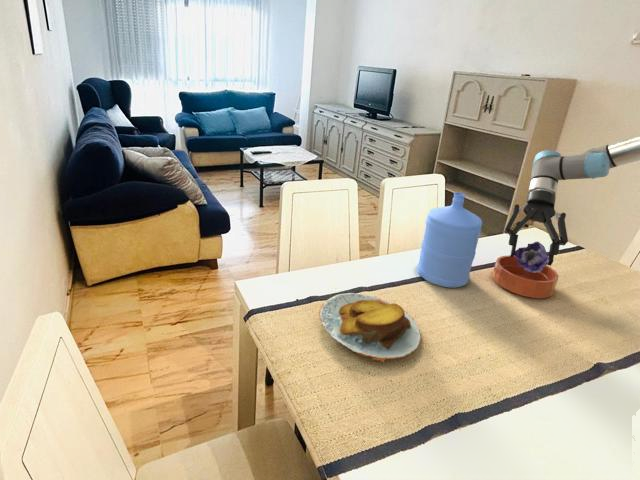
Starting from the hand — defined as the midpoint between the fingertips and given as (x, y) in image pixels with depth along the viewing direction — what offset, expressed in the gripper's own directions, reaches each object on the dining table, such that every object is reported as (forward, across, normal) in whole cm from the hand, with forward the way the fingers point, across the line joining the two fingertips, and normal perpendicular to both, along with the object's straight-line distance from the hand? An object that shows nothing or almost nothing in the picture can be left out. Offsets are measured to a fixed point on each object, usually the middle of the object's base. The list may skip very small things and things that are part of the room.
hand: (530, 259), depth 115 cm
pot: (+5, 0, -10) cm, 11 cm away
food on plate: (+39, +36, +24) cm, 58 cm away
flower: (+1, -1, -5) cm, 5 cm away
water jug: (+11, +23, -4) cm, 26 cm away
